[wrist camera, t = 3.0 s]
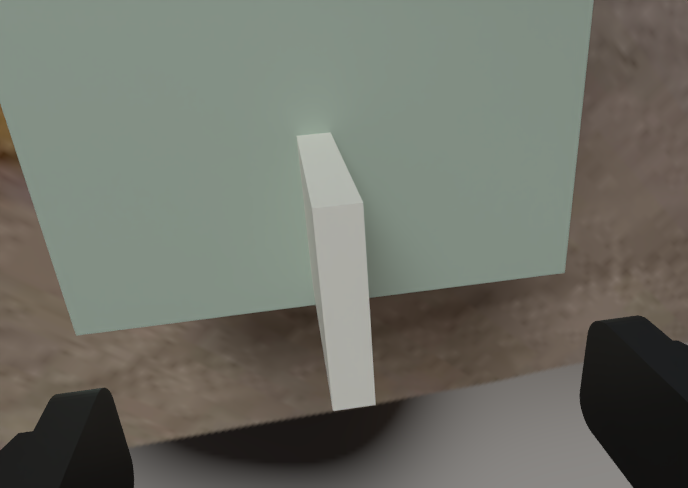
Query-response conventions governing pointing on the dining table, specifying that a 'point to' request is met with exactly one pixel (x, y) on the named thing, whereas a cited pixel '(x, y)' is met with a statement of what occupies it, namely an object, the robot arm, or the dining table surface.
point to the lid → (293, 154)
